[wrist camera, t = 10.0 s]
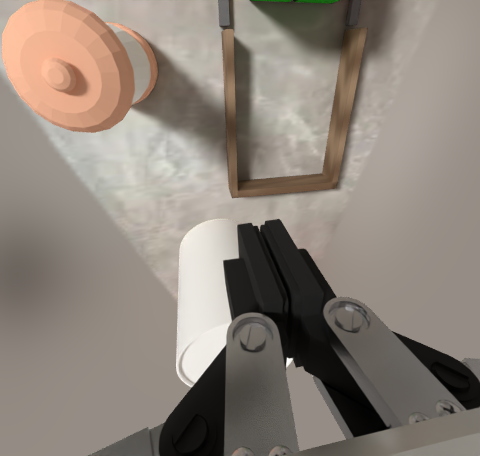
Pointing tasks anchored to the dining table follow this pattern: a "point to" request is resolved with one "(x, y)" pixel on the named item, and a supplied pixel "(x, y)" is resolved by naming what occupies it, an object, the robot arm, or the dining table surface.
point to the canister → (204, 296)
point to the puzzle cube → (305, 0)
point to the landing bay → (351, 19)
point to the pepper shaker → (76, 65)
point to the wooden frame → (337, 129)
